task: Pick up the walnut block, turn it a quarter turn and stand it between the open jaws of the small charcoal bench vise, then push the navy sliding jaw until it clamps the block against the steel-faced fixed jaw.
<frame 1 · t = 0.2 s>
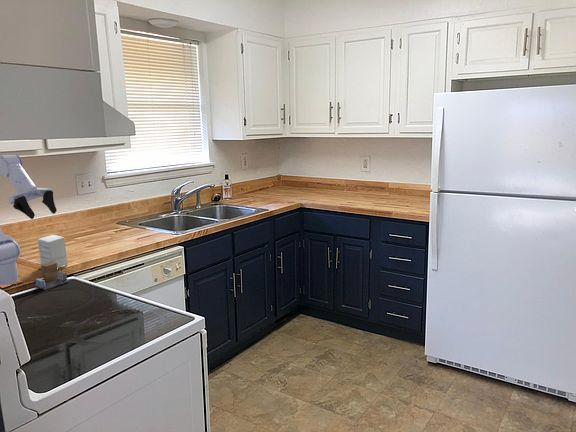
hand: (44, 214, 153), 31 cm above the counter, tool tilted 45°, fingers open, 7 cm apart
vise jaw: (40, 283, 170), point 2 cm above the counter, slide at 0.0 cm
supplement box: (54, 267, 192), on the counter
vise frame: (52, 284, 175), on the counter
walnut block: (50, 278, 180), on the counter
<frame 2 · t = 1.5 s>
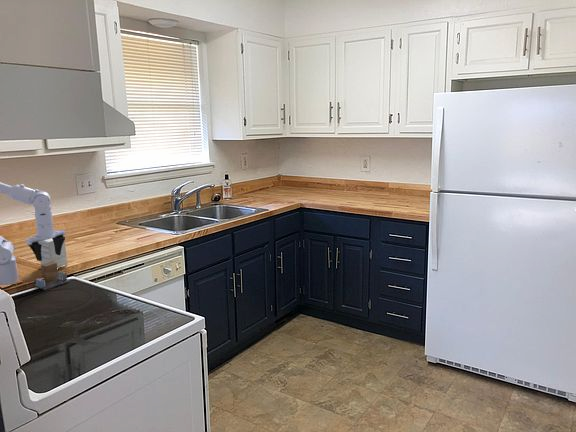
hand: (48, 257, 178), 9 cm above the counter, tool pointing down, fingers open, 7 cm apart
nothing on the counter moved.
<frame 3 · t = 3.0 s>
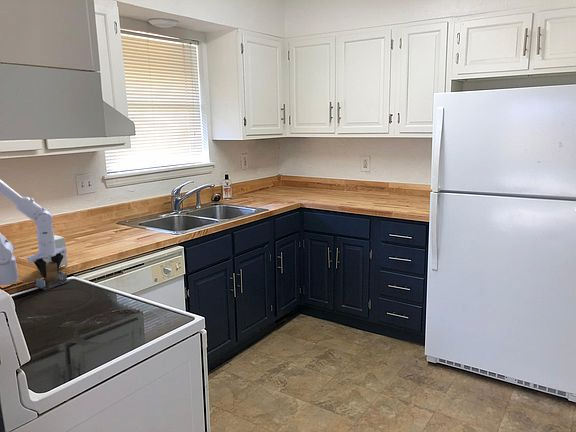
hand: (50, 274, 180), 1 cm above the counter, tool pointing down, fingers closed on walnut block, 4 cm apart
walnut block: (50, 278, 180), on the counter, touching gripper
everything else where it was.
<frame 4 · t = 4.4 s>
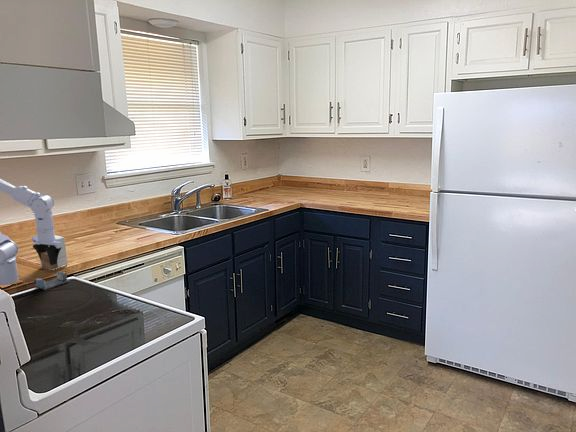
hand: (49, 263, 173), 8 cm above the counter, tool pointing down, fingers closed on walnut block, 4 cm apart
walnut block: (50, 267, 173), point 7 cm above the counter, touching gripper
everything else where it was.
when the fingers open (3 cm above the counter, at t = 6.0 s): walnut block stays where it is, resting on vise frame.
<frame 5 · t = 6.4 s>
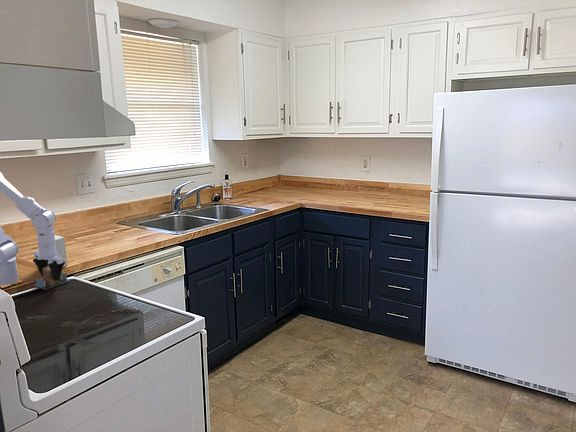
hand: (50, 277, 174), 3 cm above the counter, tool pointing down, fingers open, 7 cm apart
walnut block: (51, 283, 174), resting on vise frame
everything else where it was.
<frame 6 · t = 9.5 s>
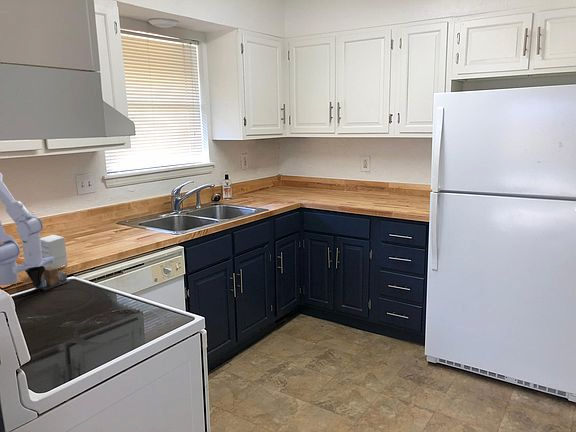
hand: (36, 285, 169), 1 cm above the counter, tool pointing down, fingers closed
vise jaw: (41, 282, 171), point 2 cm above the counter, slide at 0.4 cm, touching gripper
everything else where it was.
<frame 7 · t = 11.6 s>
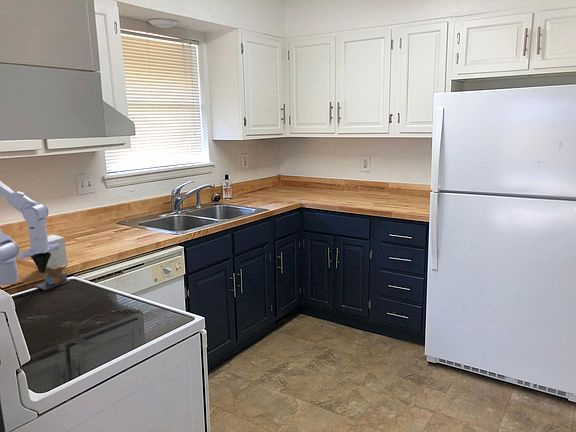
hand: (42, 272, 170), 6 cm above the counter, tool pointing down, fingers closed
vise jaw: (49, 279, 173), point 2 cm above the counter, slide at 3.5 cm, touching walnut block
walnut block: (55, 281, 176), resting on vise frame, touching vise jaw
everything else where it was.
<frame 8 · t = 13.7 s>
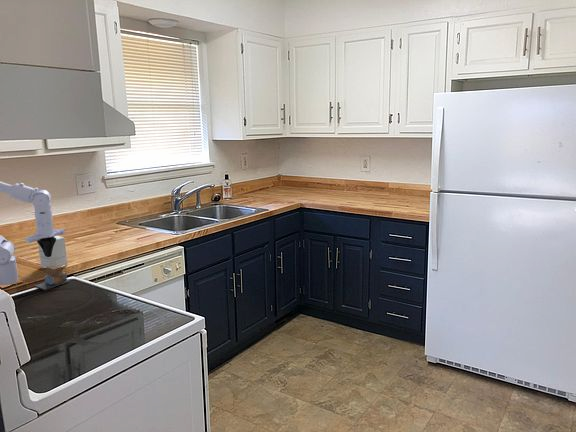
hand: (48, 256, 177), 9 cm above the counter, tool pointing down, fingers closed
nothing on the counter moved.
at the end: vise jaw slide at 3.5 cm; walnut block 0.0 cm from the target spot, point 0.5 cm above the counter; walnut block tilted 0° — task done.
